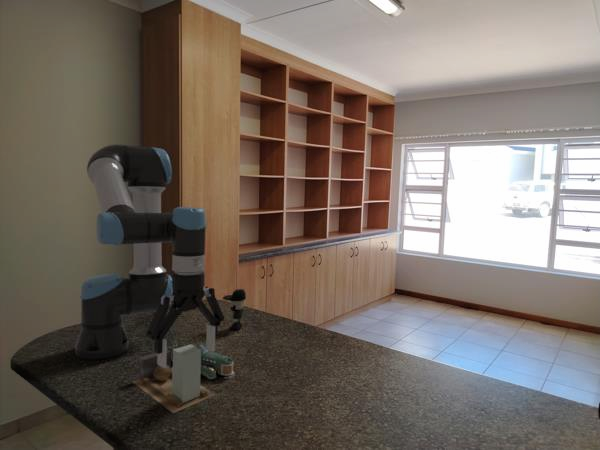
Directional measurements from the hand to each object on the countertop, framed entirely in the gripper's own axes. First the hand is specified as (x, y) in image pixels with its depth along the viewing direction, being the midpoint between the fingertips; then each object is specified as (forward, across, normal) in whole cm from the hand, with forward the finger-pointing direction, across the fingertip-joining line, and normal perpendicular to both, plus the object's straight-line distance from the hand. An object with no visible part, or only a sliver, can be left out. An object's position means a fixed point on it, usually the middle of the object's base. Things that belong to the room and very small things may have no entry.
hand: (187, 357), depth 99 cm
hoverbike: (+12, +12, +13) cm, 21 cm away
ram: (+10, 0, +1) cm, 10 cm away
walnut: (+10, 0, +12) cm, 16 cm away
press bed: (+11, 0, +6) cm, 13 cm away
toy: (+11, +41, +32) cm, 53 cm away
